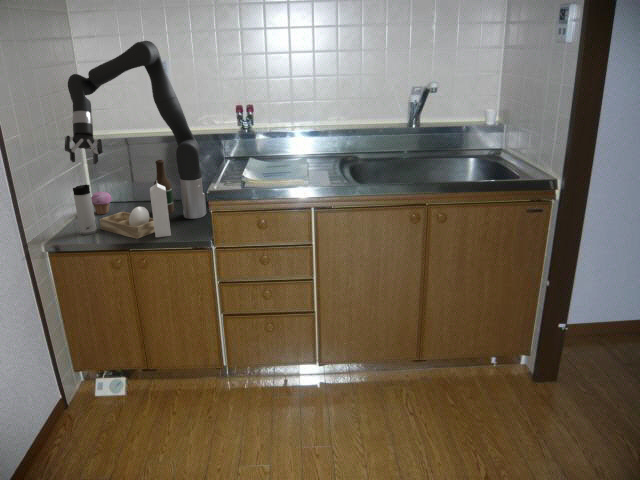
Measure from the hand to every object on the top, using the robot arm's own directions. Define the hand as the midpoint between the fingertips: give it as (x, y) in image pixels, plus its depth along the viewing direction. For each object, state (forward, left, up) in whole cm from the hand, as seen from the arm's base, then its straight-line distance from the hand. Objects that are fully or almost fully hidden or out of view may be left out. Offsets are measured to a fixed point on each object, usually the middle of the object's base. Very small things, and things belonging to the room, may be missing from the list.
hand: (84, 162), depth 223 cm
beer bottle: (-27, +14, -27) cm, 41 cm away
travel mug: (+8, +7, -27) cm, 29 cm away
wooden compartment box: (-3, +19, -27) cm, 33 cm away
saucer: (-3, +25, -25) cm, 36 cm away
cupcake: (-12, -10, -27) cm, 31 cm away
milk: (-6, +35, -27) cm, 44 cm away
